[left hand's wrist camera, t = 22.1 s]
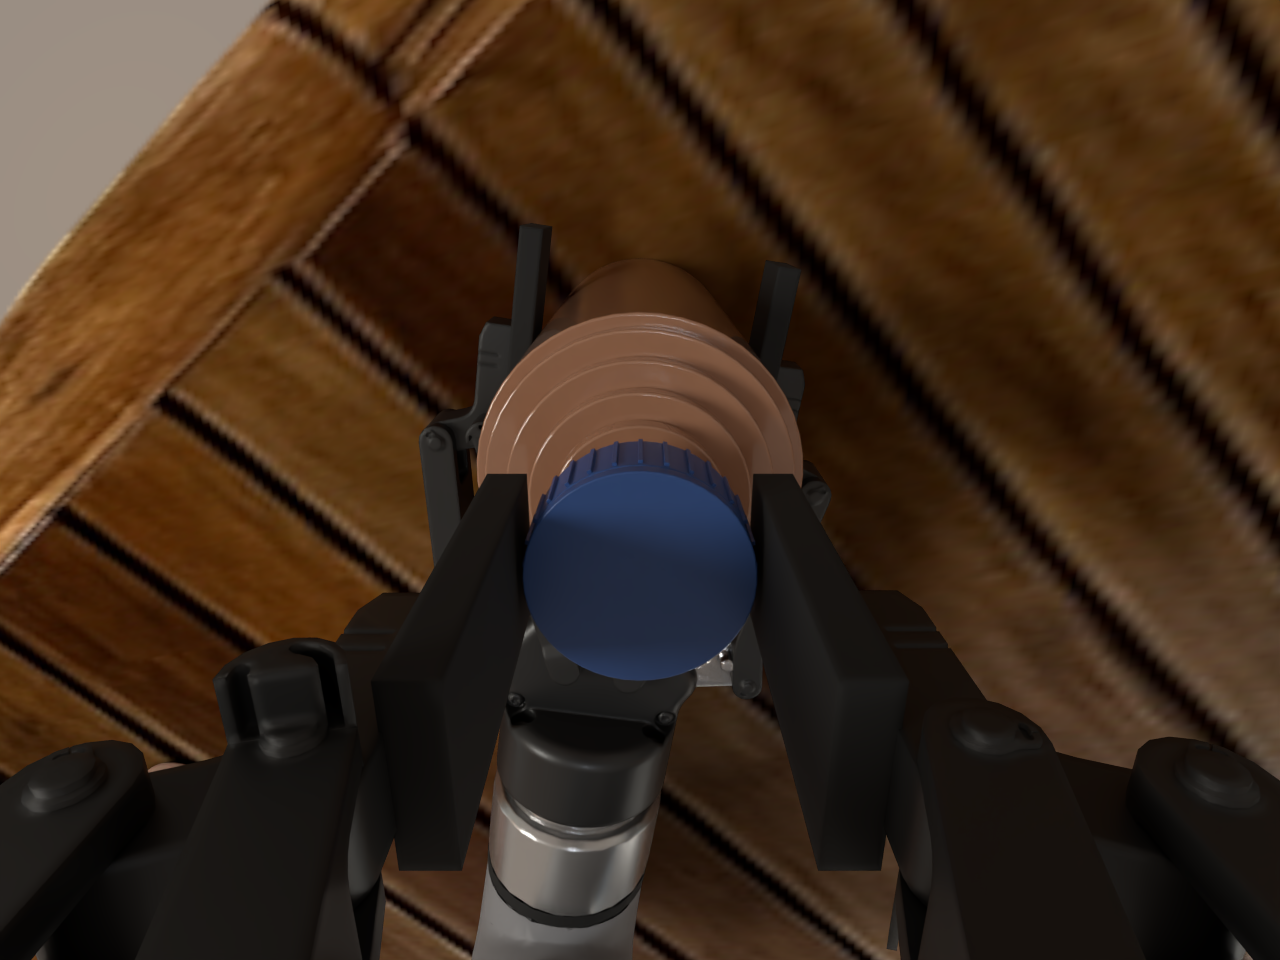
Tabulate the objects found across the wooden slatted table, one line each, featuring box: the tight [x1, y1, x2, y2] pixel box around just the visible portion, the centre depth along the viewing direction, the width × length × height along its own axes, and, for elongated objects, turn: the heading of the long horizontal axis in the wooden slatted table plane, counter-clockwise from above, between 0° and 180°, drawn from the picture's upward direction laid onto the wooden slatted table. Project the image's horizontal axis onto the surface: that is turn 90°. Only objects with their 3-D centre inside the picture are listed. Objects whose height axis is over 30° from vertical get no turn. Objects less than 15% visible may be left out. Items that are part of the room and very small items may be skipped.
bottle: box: [477, 259, 803, 525], centre depth 23 cm, size 8×8×21 cm
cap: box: [522, 439, 758, 681], centre depth 14 cm, size 4×4×2 cm
